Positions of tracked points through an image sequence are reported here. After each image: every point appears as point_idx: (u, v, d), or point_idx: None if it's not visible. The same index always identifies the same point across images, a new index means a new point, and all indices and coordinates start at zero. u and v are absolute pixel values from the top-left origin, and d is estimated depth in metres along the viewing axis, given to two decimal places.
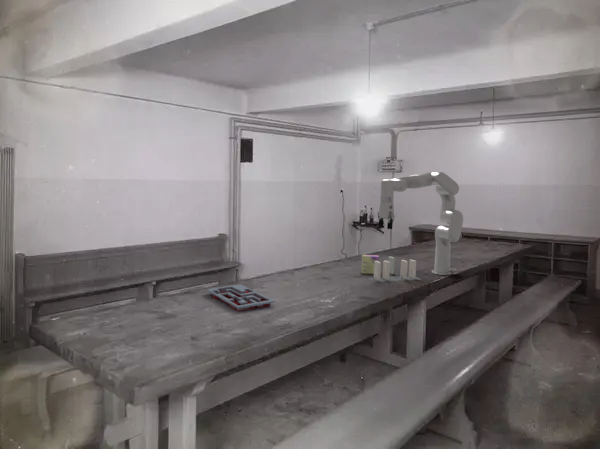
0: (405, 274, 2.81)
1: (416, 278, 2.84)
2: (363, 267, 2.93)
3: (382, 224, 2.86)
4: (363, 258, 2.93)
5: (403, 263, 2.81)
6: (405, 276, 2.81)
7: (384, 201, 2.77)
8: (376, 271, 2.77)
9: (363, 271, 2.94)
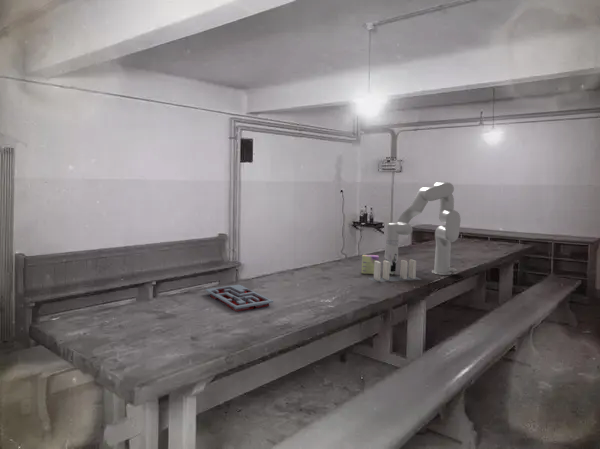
0: (405, 274, 2.81)
1: (416, 278, 2.84)
2: (363, 267, 2.93)
3: None
4: (363, 258, 2.93)
5: (403, 263, 2.81)
6: (405, 276, 2.81)
7: None
8: (376, 271, 2.77)
9: (363, 271, 2.94)
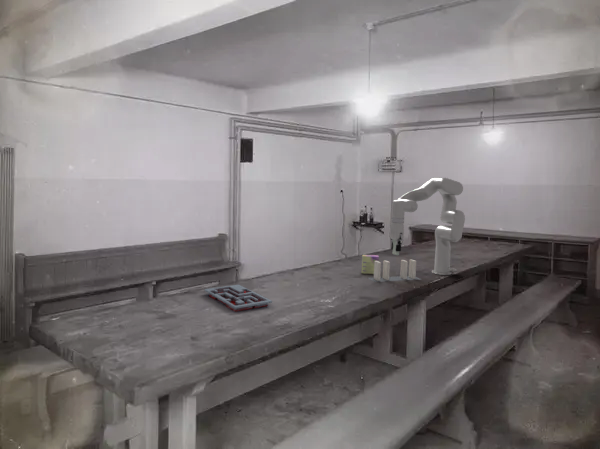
0: (405, 274, 2.81)
1: (416, 278, 2.84)
2: (363, 267, 2.93)
3: None
4: (363, 258, 2.93)
5: (403, 263, 2.81)
6: (405, 276, 2.81)
7: None
8: (376, 271, 2.77)
9: (363, 271, 2.94)
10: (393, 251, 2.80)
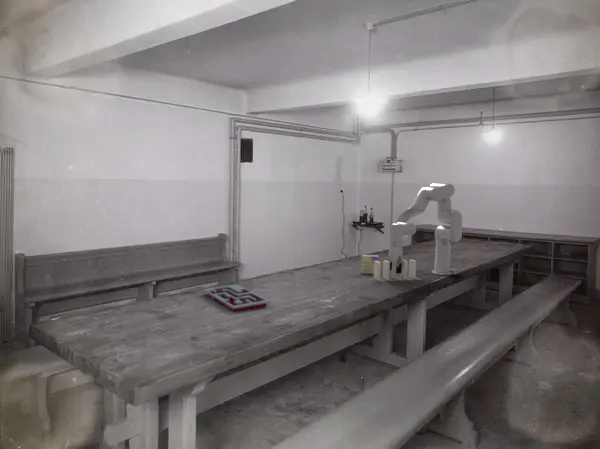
0: (405, 274, 2.81)
1: (416, 278, 2.84)
2: (363, 267, 2.93)
3: None
4: (363, 258, 2.93)
5: (403, 263, 2.81)
6: (405, 276, 2.81)
7: None
8: (376, 271, 2.77)
9: (363, 271, 2.94)
10: (392, 275, 2.82)
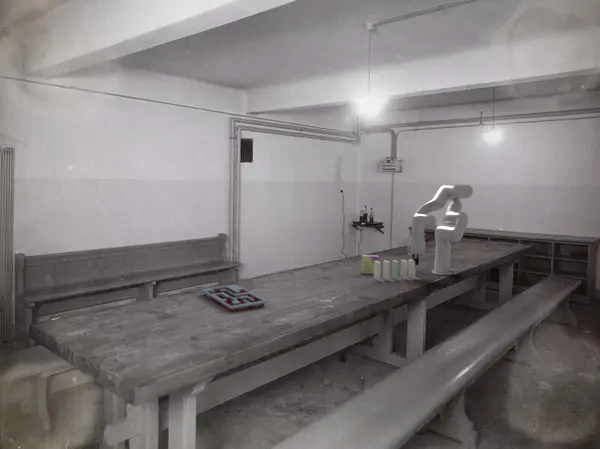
0: (405, 274, 2.81)
1: (416, 278, 2.84)
2: (363, 267, 2.93)
3: None
4: (363, 258, 2.93)
5: (403, 263, 2.81)
6: (405, 276, 2.81)
7: (423, 237, 2.81)
8: (376, 271, 2.77)
9: (363, 271, 2.94)
10: (392, 275, 2.82)
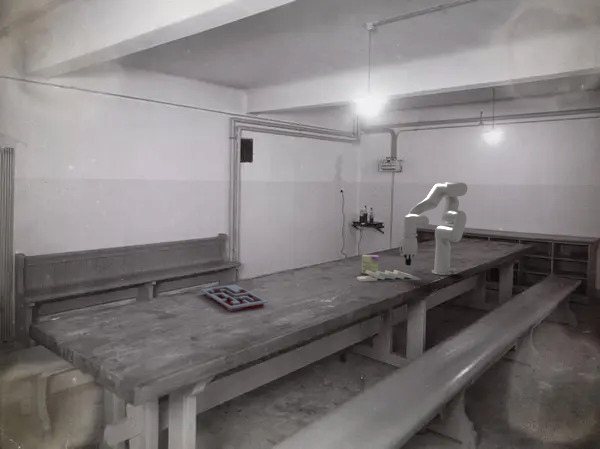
0: (400, 276, 2.80)
1: (416, 278, 2.84)
2: (363, 267, 2.93)
3: None
4: (363, 258, 2.93)
5: (389, 274, 2.79)
6: (401, 277, 2.80)
7: (415, 237, 2.79)
8: None
9: (363, 271, 2.94)
10: None
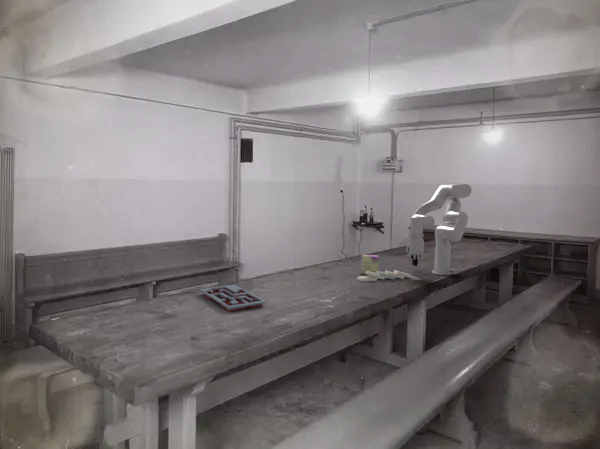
0: (400, 276, 2.80)
1: (416, 278, 2.84)
2: (363, 267, 2.93)
3: None
4: (363, 258, 2.93)
5: (389, 274, 2.79)
6: (401, 277, 2.80)
7: (422, 238, 2.80)
8: None
9: (363, 271, 2.94)
10: None
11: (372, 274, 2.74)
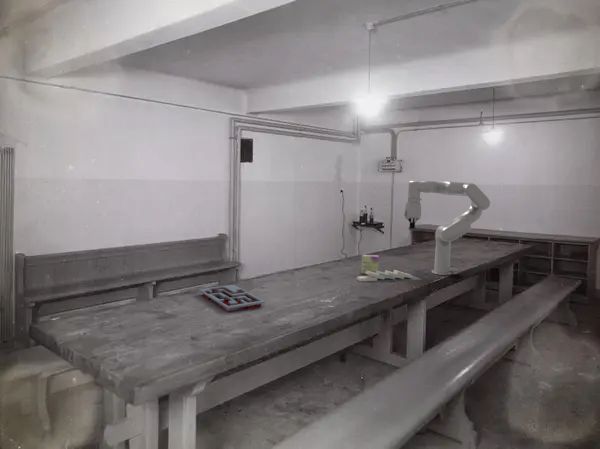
0: (400, 276, 2.80)
1: (416, 278, 2.84)
2: (363, 267, 2.93)
3: None
4: (363, 258, 2.93)
5: (389, 274, 2.79)
6: (401, 277, 2.80)
7: (419, 201, 2.95)
8: None
9: (363, 271, 2.94)
10: None
11: (372, 274, 2.74)
